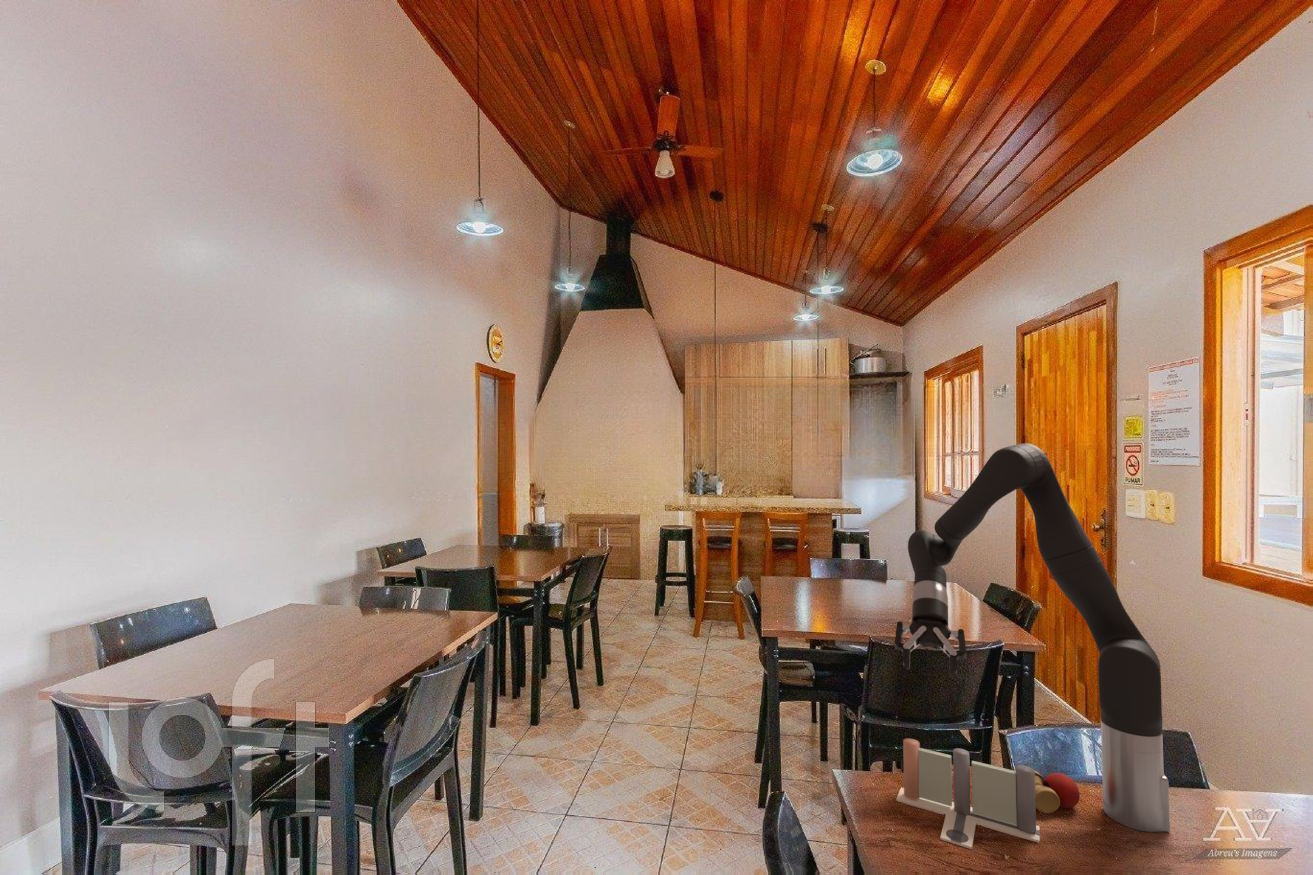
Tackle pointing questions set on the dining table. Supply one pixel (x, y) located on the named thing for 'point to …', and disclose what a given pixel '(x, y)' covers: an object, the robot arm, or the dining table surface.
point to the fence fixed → (995, 791)
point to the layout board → (965, 822)
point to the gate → (927, 773)
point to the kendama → (1055, 792)
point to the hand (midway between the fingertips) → (929, 671)
